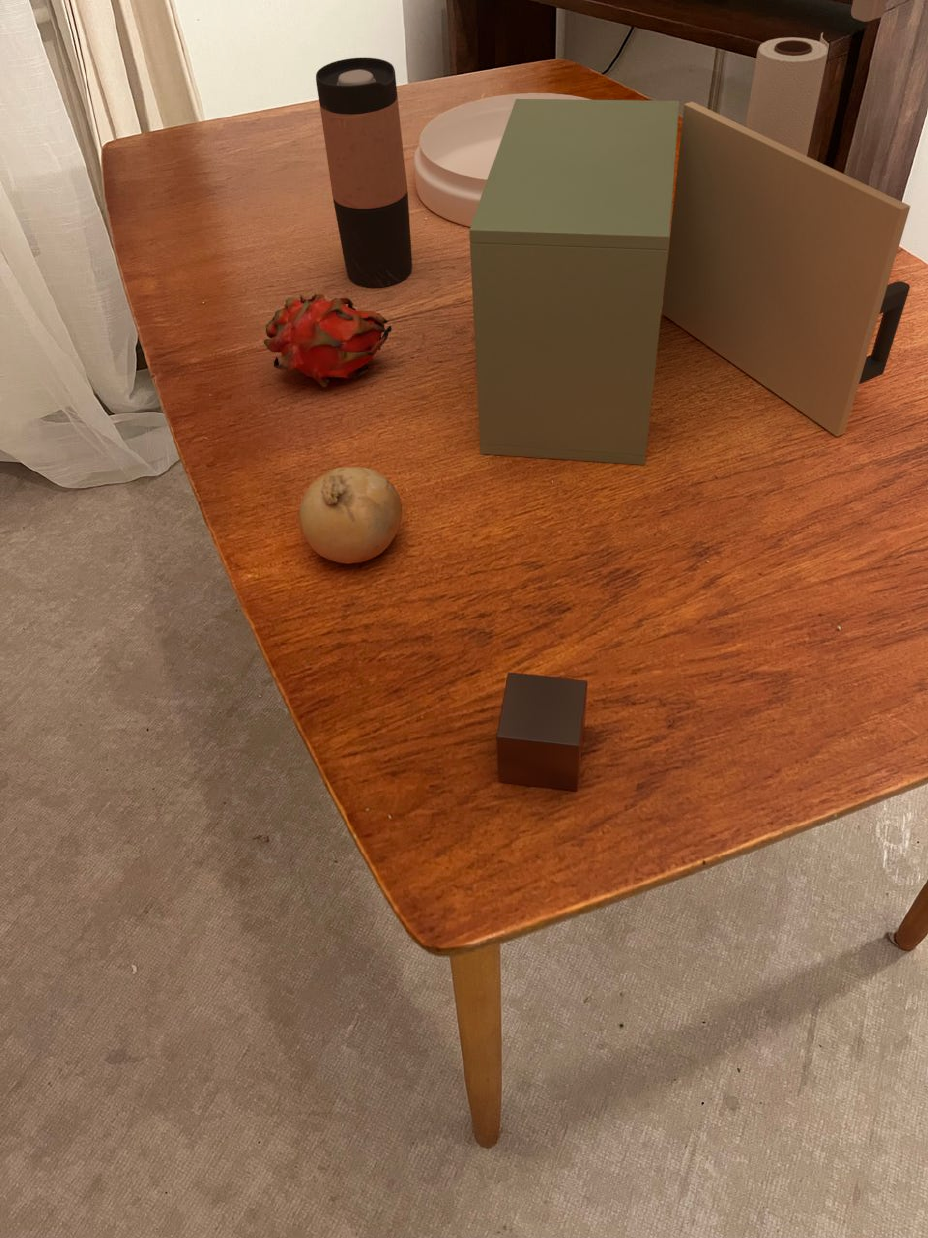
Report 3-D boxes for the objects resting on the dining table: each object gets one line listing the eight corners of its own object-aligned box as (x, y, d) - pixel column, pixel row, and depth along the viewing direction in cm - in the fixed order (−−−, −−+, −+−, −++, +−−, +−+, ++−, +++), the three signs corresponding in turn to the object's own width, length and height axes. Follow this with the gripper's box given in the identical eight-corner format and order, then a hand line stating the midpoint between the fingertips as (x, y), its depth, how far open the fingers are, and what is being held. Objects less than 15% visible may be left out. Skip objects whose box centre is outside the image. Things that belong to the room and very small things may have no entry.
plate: (612, 244, 108) (615, 194, 104) (383, 220, 114) (378, 173, 110) (657, 143, 125) (661, 97, 121) (456, 127, 131) (453, 83, 127)
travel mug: (337, 261, 108) (307, 64, 93) (404, 248, 109) (384, 51, 95) (353, 294, 103) (323, 91, 88) (423, 280, 104) (405, 77, 90)
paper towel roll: (736, 291, 100) (774, 61, 84) (715, 262, 104) (747, 38, 88) (803, 280, 100) (854, 51, 85) (779, 252, 104) (823, 29, 89)
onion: (300, 518, 80) (284, 449, 75) (396, 500, 81) (386, 430, 75) (312, 586, 74) (295, 517, 69) (414, 566, 75) (405, 496, 70)
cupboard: (657, 313, 98) (679, 100, 83) (644, 465, 82) (669, 236, 67) (518, 306, 100) (515, 98, 85) (480, 454, 84) (468, 229, 69)
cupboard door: (713, 293, 99) (744, 84, 85) (894, 410, 85) (968, 183, 70) (661, 313, 97) (683, 103, 83) (836, 437, 83) (901, 209, 68)
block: (584, 727, 64) (587, 680, 61) (577, 792, 61) (580, 746, 57) (509, 719, 65) (507, 671, 61) (498, 782, 62) (495, 736, 58)
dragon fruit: (265, 391, 95) (388, 388, 97) (265, 386, 87) (400, 383, 89) (259, 299, 93) (384, 298, 96) (259, 285, 85) (396, 285, 87)
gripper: (886, -225, 54) (830, 50, 64) (1130, -272, 60) (1044, -14, 71) (805, -236, 58) (765, 26, 68) (1042, -279, 64) (973, -33, 74)
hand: (908, 5), depth 69 cm, fingers open, 7 cm apart
